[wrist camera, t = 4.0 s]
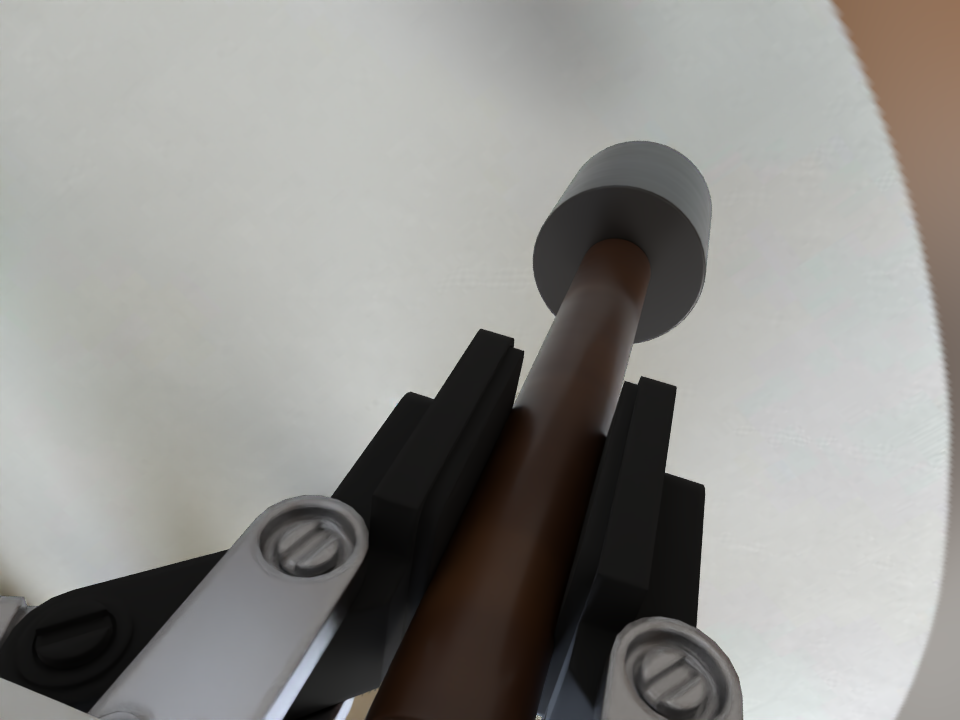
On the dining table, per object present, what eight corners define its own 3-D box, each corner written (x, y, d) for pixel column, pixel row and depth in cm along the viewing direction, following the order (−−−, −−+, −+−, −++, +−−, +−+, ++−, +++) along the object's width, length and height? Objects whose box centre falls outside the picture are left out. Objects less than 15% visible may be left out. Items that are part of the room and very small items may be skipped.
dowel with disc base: (538, 213, 21) (188, 707, 8) (637, 107, 18) (381, 555, 5) (636, 304, 21) (466, 915, 8) (744, 213, 19) (751, 858, 6)
